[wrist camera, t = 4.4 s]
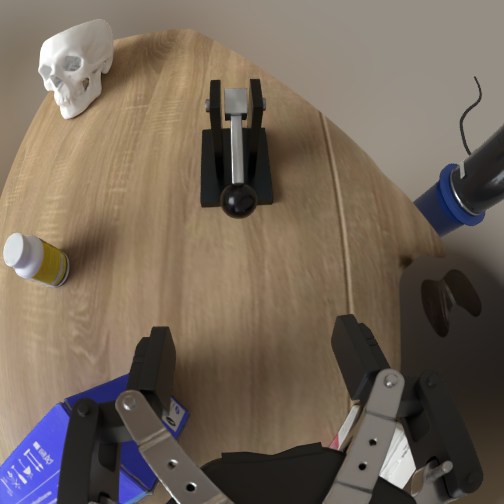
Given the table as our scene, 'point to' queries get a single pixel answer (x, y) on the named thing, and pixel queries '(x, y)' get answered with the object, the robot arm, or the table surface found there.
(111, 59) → the skull planter
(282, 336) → the table surface
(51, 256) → the supplement bottle
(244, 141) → the lever stand
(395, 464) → the ink box
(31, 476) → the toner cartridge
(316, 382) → the table surface
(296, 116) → the table surface
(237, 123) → the tap lever
